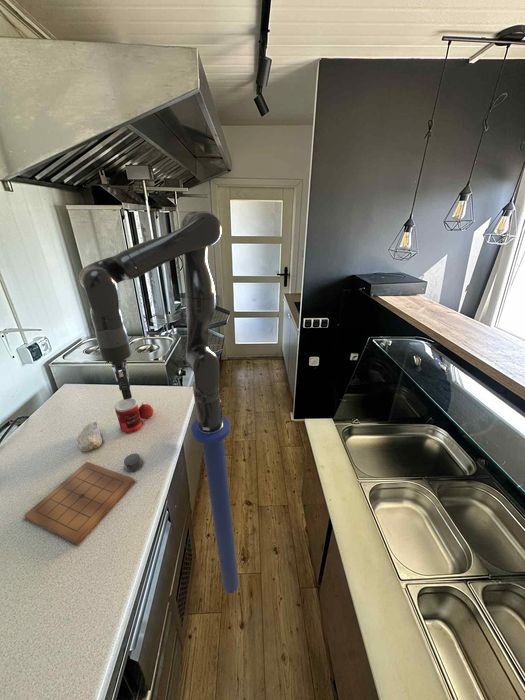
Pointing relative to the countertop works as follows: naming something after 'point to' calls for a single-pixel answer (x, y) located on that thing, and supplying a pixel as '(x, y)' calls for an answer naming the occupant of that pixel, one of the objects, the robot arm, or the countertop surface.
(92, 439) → the stone
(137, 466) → the black stone
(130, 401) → the canned food
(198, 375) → the robot arm
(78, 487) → the grid board
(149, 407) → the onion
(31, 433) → the countertop surface
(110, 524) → the countertop surface
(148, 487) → the countertop surface
